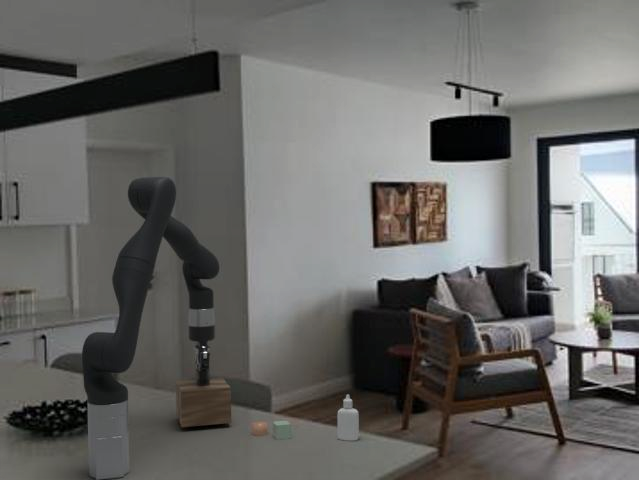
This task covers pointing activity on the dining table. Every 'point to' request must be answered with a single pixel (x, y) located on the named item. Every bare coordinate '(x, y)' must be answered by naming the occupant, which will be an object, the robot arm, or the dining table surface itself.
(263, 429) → the orange flattened ball
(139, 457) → the dining table surface
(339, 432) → the eye dropper bottle
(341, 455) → the dining table surface
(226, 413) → the cover
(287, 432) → the green cube
